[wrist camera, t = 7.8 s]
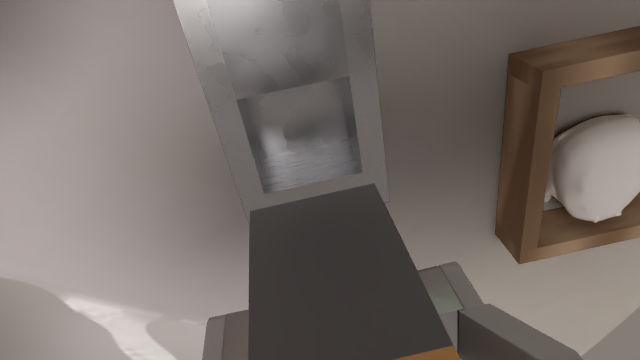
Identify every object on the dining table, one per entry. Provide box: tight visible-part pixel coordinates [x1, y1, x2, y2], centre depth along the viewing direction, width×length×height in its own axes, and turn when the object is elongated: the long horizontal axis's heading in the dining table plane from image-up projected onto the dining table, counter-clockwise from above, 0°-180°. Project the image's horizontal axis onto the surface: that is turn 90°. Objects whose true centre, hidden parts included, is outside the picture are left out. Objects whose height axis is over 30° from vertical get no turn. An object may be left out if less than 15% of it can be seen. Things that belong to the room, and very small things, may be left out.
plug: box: [248, 183, 460, 360], centre depth 11 cm, size 4×4×7 cm
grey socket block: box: [173, 0, 390, 226], centre depth 20 cm, size 8×20×5 cm, turn 10°
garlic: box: [544, 115, 640, 223], centre depth 29 cm, size 8×7×4 cm
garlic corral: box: [495, 26, 640, 264], centre depth 27 cm, size 13×14×4 cm
